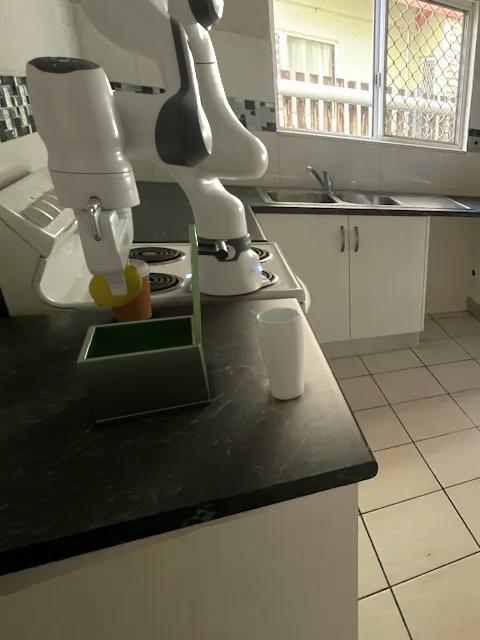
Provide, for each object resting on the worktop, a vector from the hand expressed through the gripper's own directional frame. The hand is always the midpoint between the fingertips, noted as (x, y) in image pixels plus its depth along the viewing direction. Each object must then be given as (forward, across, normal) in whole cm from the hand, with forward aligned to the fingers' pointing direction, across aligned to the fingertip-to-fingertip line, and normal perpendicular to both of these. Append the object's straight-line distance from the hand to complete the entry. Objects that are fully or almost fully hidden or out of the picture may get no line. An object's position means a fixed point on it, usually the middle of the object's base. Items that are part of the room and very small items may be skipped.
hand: (122, 286), depth 71 cm
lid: (0, 0, -9) cm, 9 cm away
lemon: (+3, 0, +4) cm, 5 cm away
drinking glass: (+19, -8, -20) cm, 29 cm away
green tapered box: (+19, 0, -1) cm, 19 cm away
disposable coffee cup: (+19, +37, +4) cm, 42 cm away
